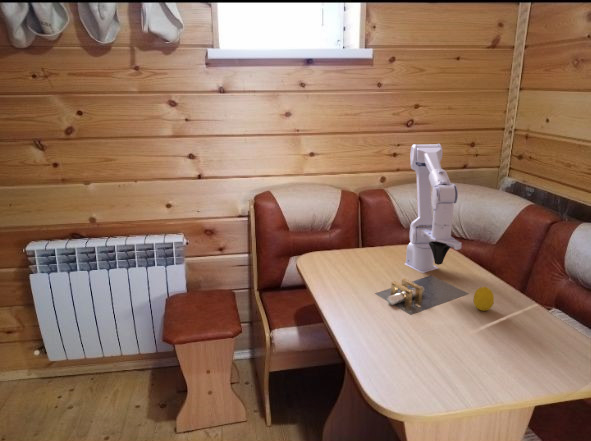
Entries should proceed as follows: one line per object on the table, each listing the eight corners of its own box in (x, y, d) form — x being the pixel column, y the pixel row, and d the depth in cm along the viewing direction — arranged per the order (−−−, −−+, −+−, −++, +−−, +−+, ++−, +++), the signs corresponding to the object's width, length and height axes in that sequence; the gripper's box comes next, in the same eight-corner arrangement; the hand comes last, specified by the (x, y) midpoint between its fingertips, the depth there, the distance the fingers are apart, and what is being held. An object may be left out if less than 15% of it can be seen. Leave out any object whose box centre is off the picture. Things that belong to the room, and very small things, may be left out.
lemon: (470, 313, 139) (473, 288, 137) (473, 305, 144) (476, 281, 141) (491, 317, 137) (494, 292, 134) (493, 309, 141) (496, 284, 139)
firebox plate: (374, 295, 151) (375, 279, 149) (431, 276, 163) (432, 262, 161) (410, 316, 138) (411, 299, 136) (468, 295, 150) (470, 279, 148)
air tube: (392, 307, 143) (394, 299, 141) (386, 301, 145) (388, 294, 143) (423, 296, 149) (425, 288, 148) (417, 291, 151) (419, 283, 150)
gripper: (415, 219, 150) (412, 258, 155) (451, 232, 139) (447, 274, 143) (431, 215, 154) (428, 254, 158) (467, 227, 142) (463, 269, 146)
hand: (438, 263), depth 151 cm, fingers closed
